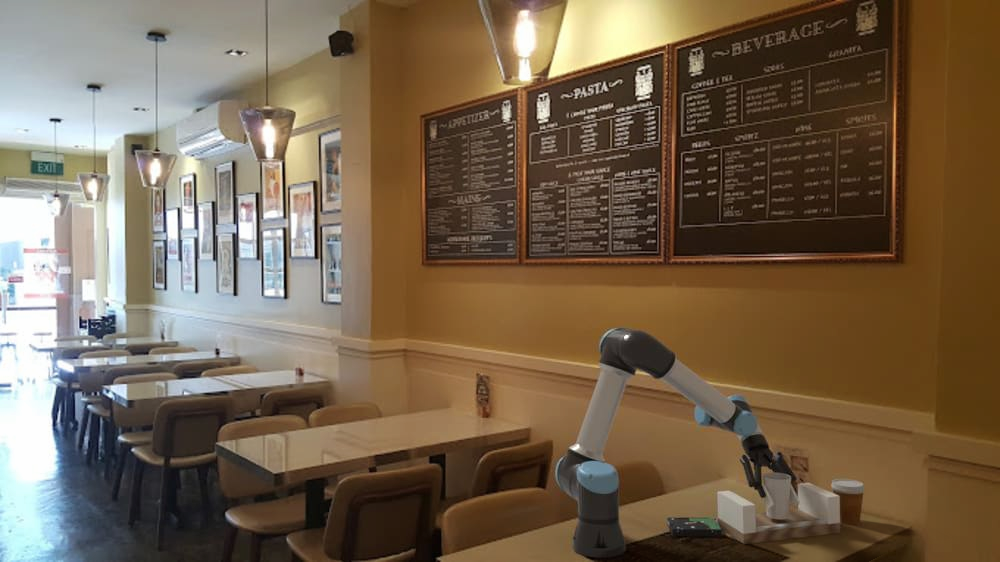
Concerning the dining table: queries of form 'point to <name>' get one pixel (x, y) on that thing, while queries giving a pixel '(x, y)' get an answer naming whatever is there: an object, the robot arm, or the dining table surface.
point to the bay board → (782, 528)
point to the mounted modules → (811, 502)
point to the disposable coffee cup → (849, 499)
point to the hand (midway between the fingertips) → (784, 505)
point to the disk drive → (694, 527)
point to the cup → (778, 494)
